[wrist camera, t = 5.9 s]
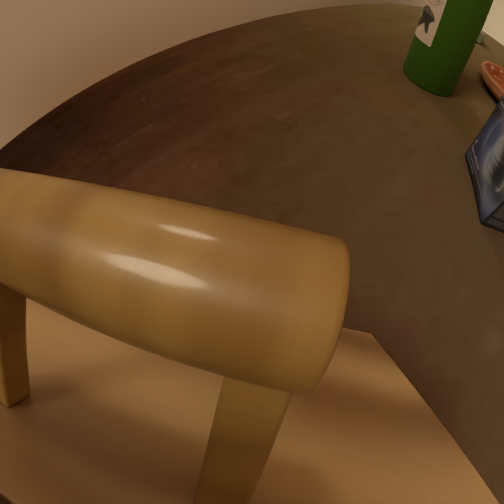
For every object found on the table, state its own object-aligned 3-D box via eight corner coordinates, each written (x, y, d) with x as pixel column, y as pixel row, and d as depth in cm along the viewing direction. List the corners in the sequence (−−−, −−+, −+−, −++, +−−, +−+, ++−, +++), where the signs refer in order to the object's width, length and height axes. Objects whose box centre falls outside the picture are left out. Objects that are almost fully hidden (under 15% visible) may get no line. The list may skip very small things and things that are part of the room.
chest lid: (500, 573, 1) (655, 336, 1) (-125, 333, 2) (-124, 151, 2) (366, 347, 14) (392, 259, 14) (102, 276, 16) (117, 195, 15)
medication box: (480, 45, 54) (486, 36, 50) (473, 40, 54) (478, 31, 50) (475, 34, 58) (480, 26, 55) (469, 30, 59) (473, 22, 55)
